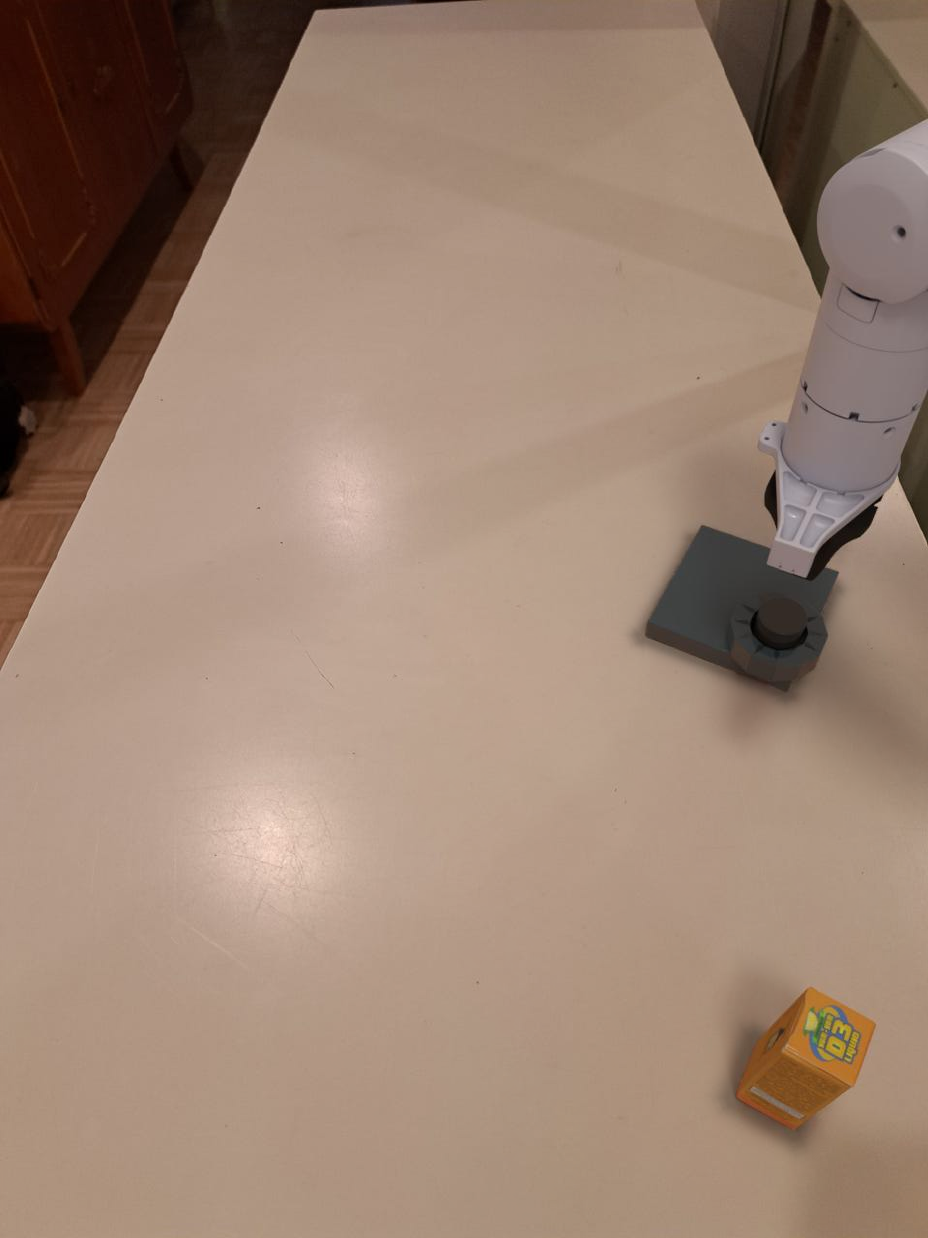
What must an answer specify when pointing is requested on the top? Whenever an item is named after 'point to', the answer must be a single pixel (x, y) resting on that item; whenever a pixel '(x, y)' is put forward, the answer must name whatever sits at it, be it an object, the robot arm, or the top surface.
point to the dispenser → (738, 608)
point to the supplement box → (806, 1059)
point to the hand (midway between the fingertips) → (799, 568)
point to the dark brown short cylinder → (780, 623)
